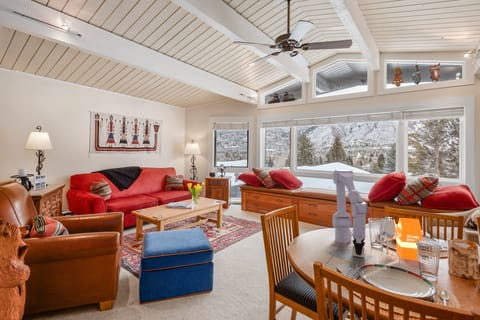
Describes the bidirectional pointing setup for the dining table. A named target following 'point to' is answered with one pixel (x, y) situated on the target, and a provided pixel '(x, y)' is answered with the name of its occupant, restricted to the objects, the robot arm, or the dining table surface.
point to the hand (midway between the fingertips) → (358, 252)
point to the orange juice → (408, 238)
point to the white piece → (355, 251)
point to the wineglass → (388, 230)
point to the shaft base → (348, 255)
